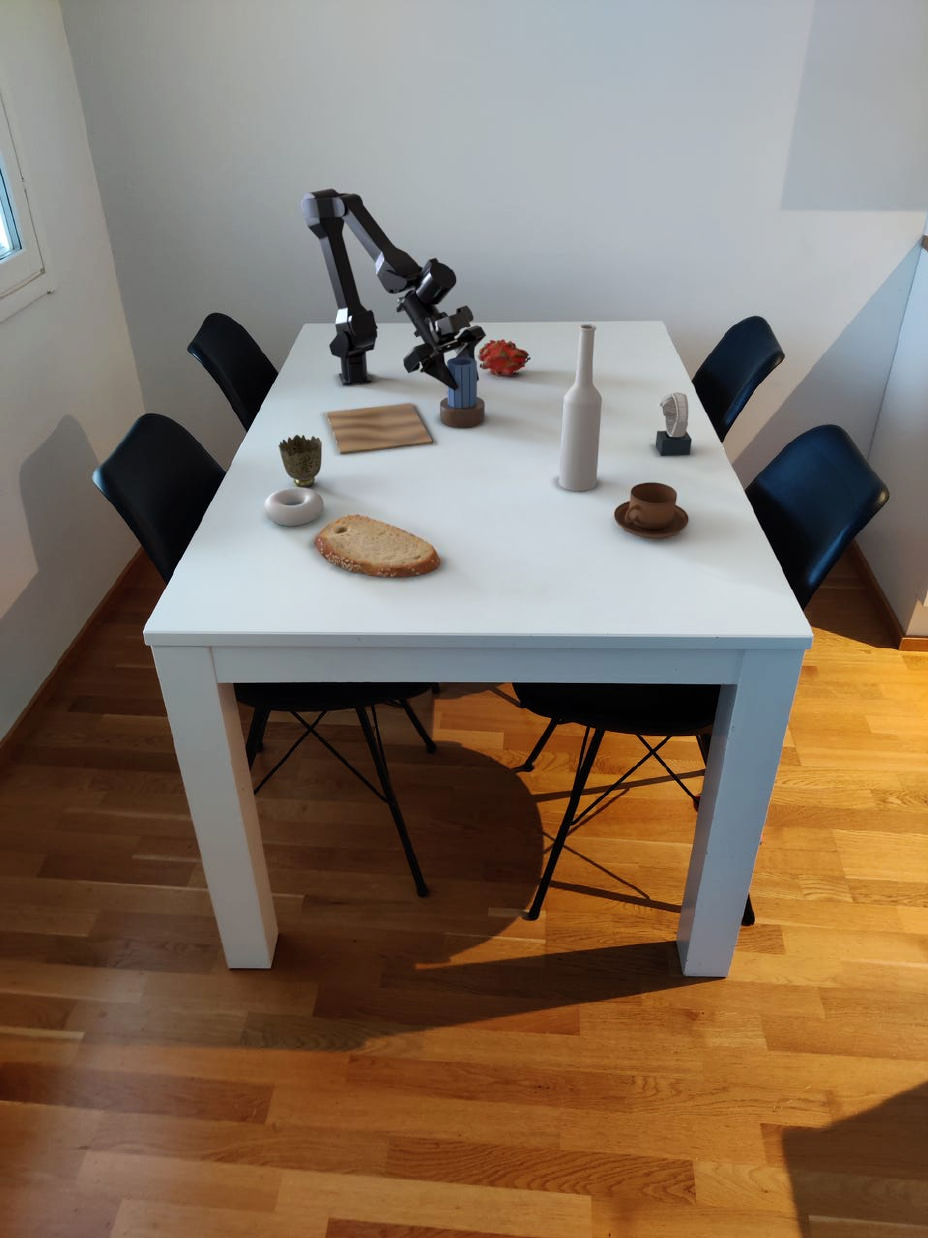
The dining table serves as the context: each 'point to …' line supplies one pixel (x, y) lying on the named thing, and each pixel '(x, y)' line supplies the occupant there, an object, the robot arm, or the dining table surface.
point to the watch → (674, 426)
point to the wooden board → (377, 428)
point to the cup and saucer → (651, 511)
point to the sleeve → (463, 382)
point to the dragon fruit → (502, 357)
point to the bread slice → (375, 548)
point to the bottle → (581, 422)
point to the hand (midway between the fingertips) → (466, 385)
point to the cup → (302, 459)
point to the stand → (462, 414)
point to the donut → (293, 506)
